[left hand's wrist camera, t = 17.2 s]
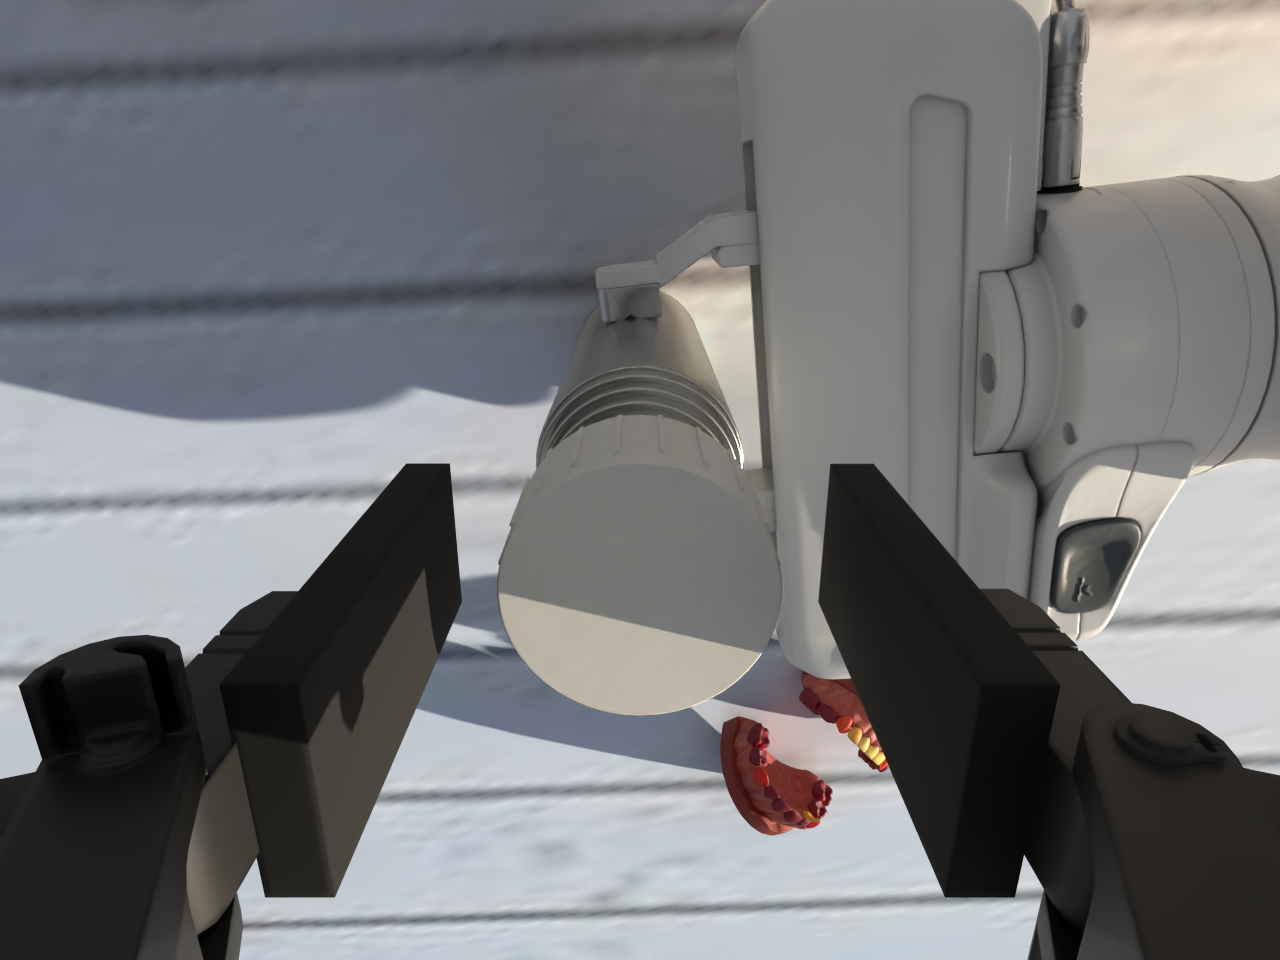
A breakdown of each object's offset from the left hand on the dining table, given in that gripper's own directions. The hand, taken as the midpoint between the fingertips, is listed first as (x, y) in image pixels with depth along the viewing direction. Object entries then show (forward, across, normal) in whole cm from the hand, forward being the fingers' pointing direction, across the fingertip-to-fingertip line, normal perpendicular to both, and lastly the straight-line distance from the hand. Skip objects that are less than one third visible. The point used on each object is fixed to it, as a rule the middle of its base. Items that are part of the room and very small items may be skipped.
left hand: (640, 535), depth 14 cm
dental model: (+18, +8, -17) cm, 26 cm away
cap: (-2, 0, 0) cm, 2 cm away
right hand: (+11, -1, 0) cm, 11 cm away
